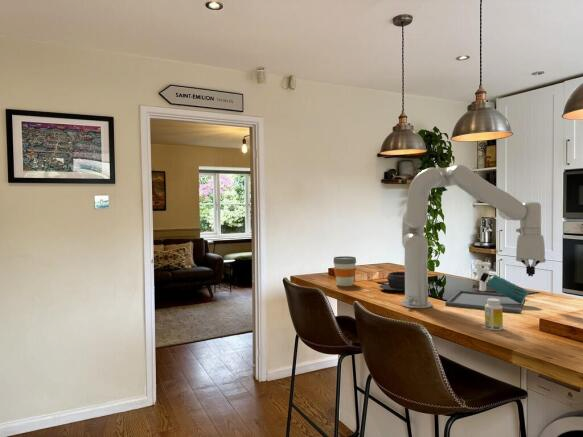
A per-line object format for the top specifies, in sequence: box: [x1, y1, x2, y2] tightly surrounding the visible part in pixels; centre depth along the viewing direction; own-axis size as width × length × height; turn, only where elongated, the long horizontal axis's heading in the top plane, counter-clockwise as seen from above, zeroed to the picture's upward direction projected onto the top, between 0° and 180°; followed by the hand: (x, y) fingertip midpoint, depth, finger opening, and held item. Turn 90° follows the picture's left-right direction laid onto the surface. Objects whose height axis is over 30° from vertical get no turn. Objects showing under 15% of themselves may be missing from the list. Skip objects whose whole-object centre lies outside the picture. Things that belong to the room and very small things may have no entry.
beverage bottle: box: [480, 272, 529, 304], centre depth 179 cm, size 6×7×20 cm
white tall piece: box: [474, 259, 491, 292], centre depth 207 cm, size 7×7×15 cm
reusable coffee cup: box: [333, 255, 357, 287], centre depth 231 cm, size 13×13×15 cm
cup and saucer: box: [378, 271, 405, 293], centre depth 213 cm, size 25×19×8 cm
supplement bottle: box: [484, 298, 504, 331], centre depth 145 cm, size 6×6×10 cm
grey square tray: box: [445, 289, 526, 314], centre depth 183 cm, size 28×28×2 cm
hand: (530, 275), depth 173 cm, fingers closed
